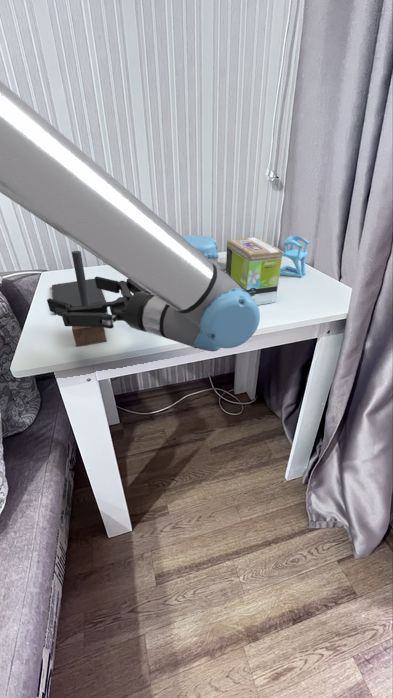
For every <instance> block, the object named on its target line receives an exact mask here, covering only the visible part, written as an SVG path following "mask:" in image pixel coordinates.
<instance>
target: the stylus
mask: <svg viewBox="0 0 393 698" xmlns="http://www.w3.org/2000/svg"><path fill="white" fill-rule="evenodd" d="M71 256H72V257H71V258H72V262H73V267H74V273H75V279H76V281H77V284H78V290H79V295H80V301H81V306H82V307H83V306H90V304H89V298H88V292H87V286H86V280H87V279H86V275H85V269H84V268H85V267H84V263H83V256H82V252H81V250H73V251H71Z"/></svg>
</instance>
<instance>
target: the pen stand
mask: <svg viewBox="0 0 393 698" xmlns="http://www.w3.org/2000/svg"><path fill="white" fill-rule="evenodd" d="M71 332H72V335H73V339H74V344H75V346H76V347H82V346H87V345H92V344H93V345H95V344H100V343H106V342H107V341H108V340H107V334H106V328H104V327H79V326H71Z"/></svg>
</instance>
